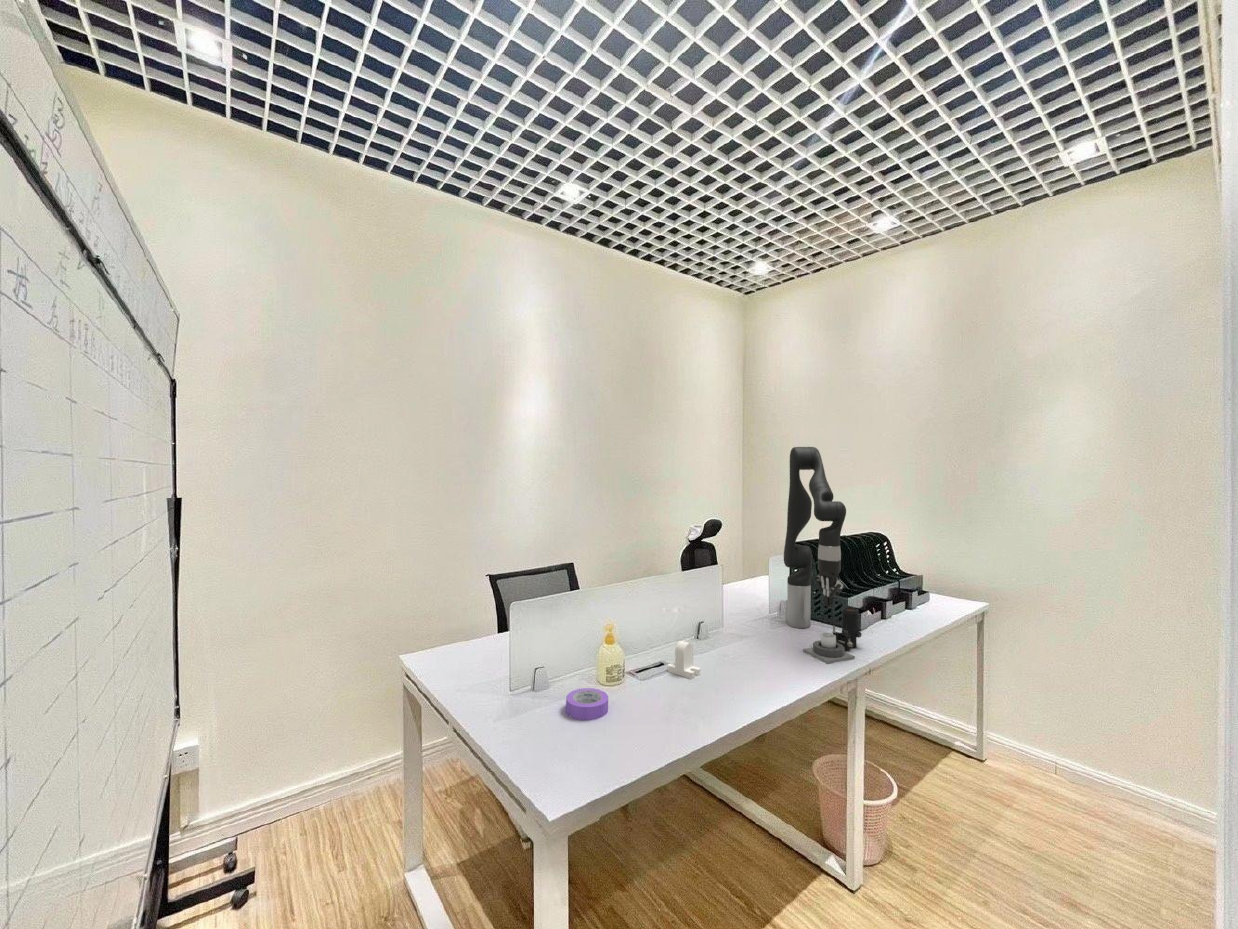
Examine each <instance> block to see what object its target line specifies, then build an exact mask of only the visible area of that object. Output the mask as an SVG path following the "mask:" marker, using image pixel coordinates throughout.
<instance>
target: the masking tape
mask: <svg viewBox="0 0 1238 929" xmlns="http://www.w3.org/2000/svg"><path fill="white" fill-rule="evenodd" d="M608 711H609V695H608V694H607V692H605V691H603V690H602V689H598V688H591V687H587V688H586V687H585V688H584V687H583V688H577V689H573V690H572V691H570V692H569V693H567V695H566V697H565V713H566V715H567V716H568V717H570V718H571V719H575V720H578V721H592V720H593V721H594V720H597V719H600V718H603V717H604V716H606V715H607V714H608Z"/></svg>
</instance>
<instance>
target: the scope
mask: <svg viewBox="0 0 1238 929" xmlns="http://www.w3.org/2000/svg"><path fill="white" fill-rule="evenodd" d="M842 612H843V614H842V625H841V632H839V631H838V632H837V631H836V625H833V626H832V632H831V633H832V634H834V635H835V636H836V642H837V643H839V644H842V645H843V646H844V648H845V652H850V650H851V649H856V648H857V638H861V637H862V632H861V631H860V628H859V613H860V611H859V609H858V608H856V607H850V606H845V607H843V608H842Z"/></svg>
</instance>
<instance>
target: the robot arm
mask: <svg viewBox="0 0 1238 929" xmlns="http://www.w3.org/2000/svg"><path fill="white" fill-rule="evenodd" d="M824 467H825V466H824V463H823V459H822V455H821V453H820V450H819V449H818V448H817V447H815V446H794V447H792V448H791V449H790V452H789V486H788V487H789V489H788V502H787V514H786V516H787V518H786V534H785V541H784V547H783V548H784V549H783V563H784V566H785V567H787V568H788V569H789V568H790V569H800V570H798V571H797V572H795V573H793V574H790V575H788V576H787V581H786V582H787V584H786V586H787V587H786V588H787V589H786V590H787V599H786V600H785V623H786V624H787V626H789V627H793V628H796V629H807V628H810V627H811V618H812V617H811V616H812V615H811V614H812V613H811V609H812V608H811V605H812V604H811V603H812V602H811V594H812V593H811V591H812V590H811V583H812V581H811V580H812V568H813V567H812V565H813V551H812V549H811V547H810V546H808V545H796V542H797V539H798V536H799V535H800V533H801V532H802V531H803V530H804V528H805V527H806V526H807V524H808V523H809V522H810V519H811V518H812V510H813V515H814V517H815V519H816V520H818V521H819V522H832V523H831V524H830V525H829V526H825V527H822V528H820V529H819V531H818V546H817V547H818V549H817V570H818V571H819V572H818V575H817V576H814V577H813V580H814V581H815V585H816V587H817V588H818V590H819V592H820V593H822V595H823V598H824V599H823V600H824V601H823V603H824V606H825V607H826V608H827V607H828V608H832V607H833V606H834V597H835V596H836V597H837V596H839V595H840V593H841V592H842V591H843V589H844V588H845V587H846V586H845V585H846V584H845V583H842V582H841V578H840V575H839V574H840V573H841V568H842V564H841V562H842V559H841V558H842V552H841V535H842V534H841V533H842V529H843V525H844V522H845V519H846V516H847V508H846V505H845V504H844V503H843V502H842V501H838V500H837V501H835V500H834V498H835V497H834V493H833V491H832V489H831V487H830V485H829V482H828V480H827V476H826V473H825V472H826V471H825V468H824ZM801 470H802V471H811V470H812V471H813V474H812V476H811V477H810V479H809V482H808V489H809V492H810V494H809V493H808V491H807V490H806V488H805V486H804V484H803V483H802V480H801V477H800V476H801V475H800V474H801V473H800V471H801ZM810 495H811V496H810ZM811 497H812V498H811ZM812 499H813V500H812ZM833 500H834V501H833ZM812 504H813V505H812ZM812 507H813V509H812Z"/></svg>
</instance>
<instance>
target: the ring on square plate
mask: <svg viewBox="0 0 1238 929" xmlns="http://www.w3.org/2000/svg"><path fill="white" fill-rule="evenodd" d="M802 652H804V653H805V654H806V655H809V656H811V657H813V658H815V659H817V660H819V661H821V662H823V663H825V664H826V665H827V664H833V663H835V664H836V663H839V662H845V661H846V662H847V661H851V660H855V658H856V657H855V655H854V654H852V653H849V652H848V651H845V648H844V646H843V645H842V644H839V643H837V642H836V648H835V649H828V648H823V647H821V640H815V641H813V642H812V647H806V648H803V649H802Z"/></svg>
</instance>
